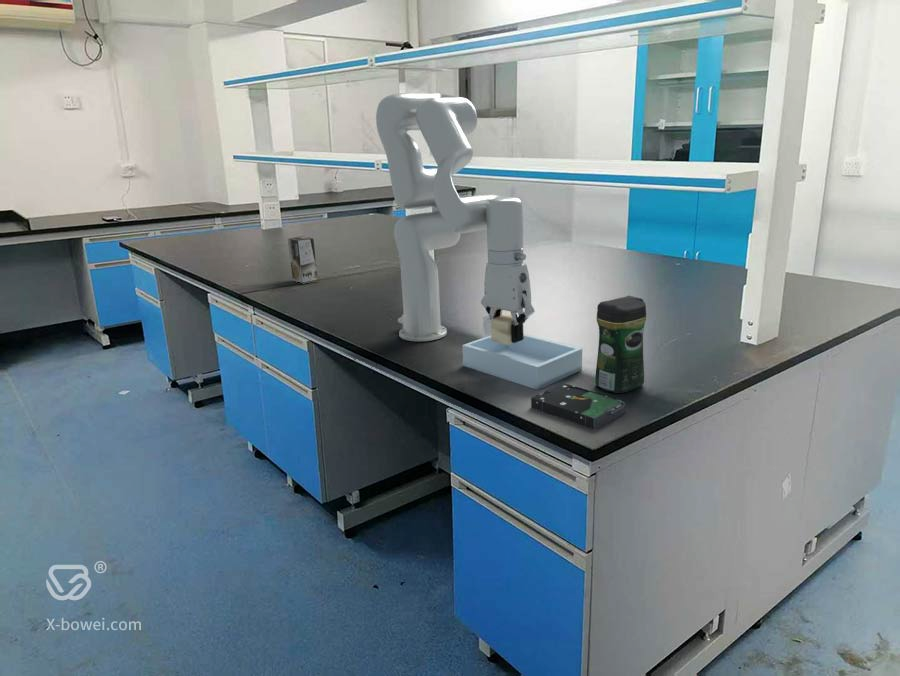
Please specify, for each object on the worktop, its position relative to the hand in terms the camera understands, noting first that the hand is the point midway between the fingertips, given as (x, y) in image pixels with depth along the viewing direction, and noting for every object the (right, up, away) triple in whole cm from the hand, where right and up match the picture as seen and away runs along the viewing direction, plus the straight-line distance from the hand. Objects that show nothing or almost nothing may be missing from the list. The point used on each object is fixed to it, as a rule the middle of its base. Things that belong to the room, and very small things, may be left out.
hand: (507, 338), depth 144 cm
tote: (+3, -7, +3) cm, 8 cm away
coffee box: (-66, +21, +98) cm, 120 cm away
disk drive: (+12, -14, -20) cm, 27 cm away
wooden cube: (0, 0, 0) cm, 1 cm away
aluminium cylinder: (-2, -2, +19) cm, 19 cm away
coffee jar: (+22, -10, -10) cm, 26 cm away
